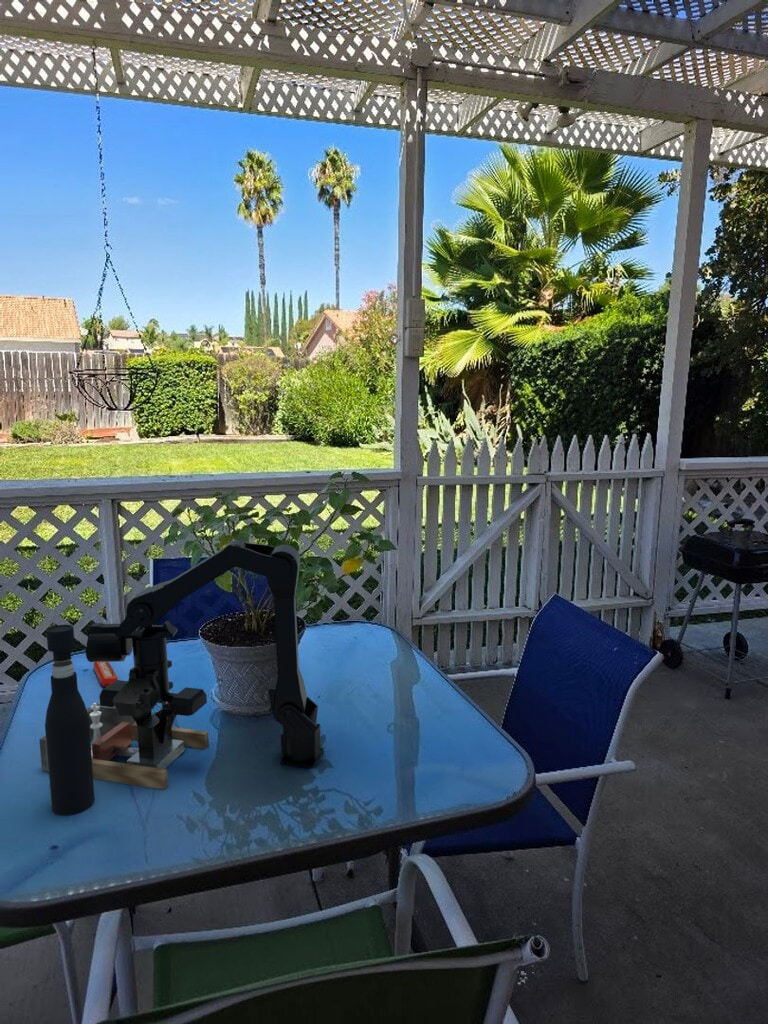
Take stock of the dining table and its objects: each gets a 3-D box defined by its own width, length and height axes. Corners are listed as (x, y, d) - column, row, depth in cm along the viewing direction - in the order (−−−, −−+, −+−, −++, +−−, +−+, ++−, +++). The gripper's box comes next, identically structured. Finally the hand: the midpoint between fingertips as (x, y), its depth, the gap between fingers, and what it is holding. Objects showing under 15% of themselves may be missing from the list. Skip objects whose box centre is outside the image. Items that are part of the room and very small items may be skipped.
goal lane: (208, 746, 130) (207, 716, 129) (164, 789, 115) (162, 756, 114) (98, 731, 136) (96, 703, 135) (42, 770, 121) (39, 739, 120)
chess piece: (101, 761, 124) (97, 710, 123) (78, 758, 126) (74, 707, 124) (117, 748, 129) (114, 699, 128) (95, 745, 130) (91, 696, 129)
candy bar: (119, 688, 158) (118, 676, 157) (102, 692, 156) (101, 679, 155) (107, 666, 171) (107, 655, 171) (92, 669, 169) (91, 657, 169)
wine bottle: (50, 819, 107) (35, 637, 102) (52, 798, 113) (38, 624, 108) (95, 810, 109) (82, 631, 105) (94, 789, 115) (82, 619, 111)
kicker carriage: (184, 750, 128) (182, 710, 127) (157, 775, 119) (154, 732, 118) (124, 742, 131) (121, 703, 130) (93, 766, 122) (90, 724, 121)
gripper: (75, 672, 116) (81, 757, 118) (172, 682, 111) (177, 770, 114) (116, 649, 127) (121, 728, 129) (206, 658, 122) (210, 739, 124)
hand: (155, 741), depth 124 cm, fingers closed on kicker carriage, 3 cm apart
